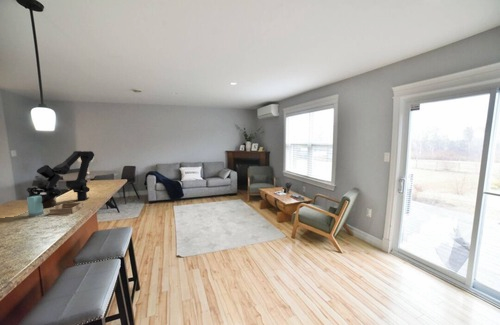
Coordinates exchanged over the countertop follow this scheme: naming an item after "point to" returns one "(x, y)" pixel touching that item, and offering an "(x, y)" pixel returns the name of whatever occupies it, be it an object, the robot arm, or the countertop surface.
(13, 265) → the countertop surface
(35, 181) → the robot arm
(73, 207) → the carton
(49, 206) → the coffee mug
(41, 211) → the tea tin
